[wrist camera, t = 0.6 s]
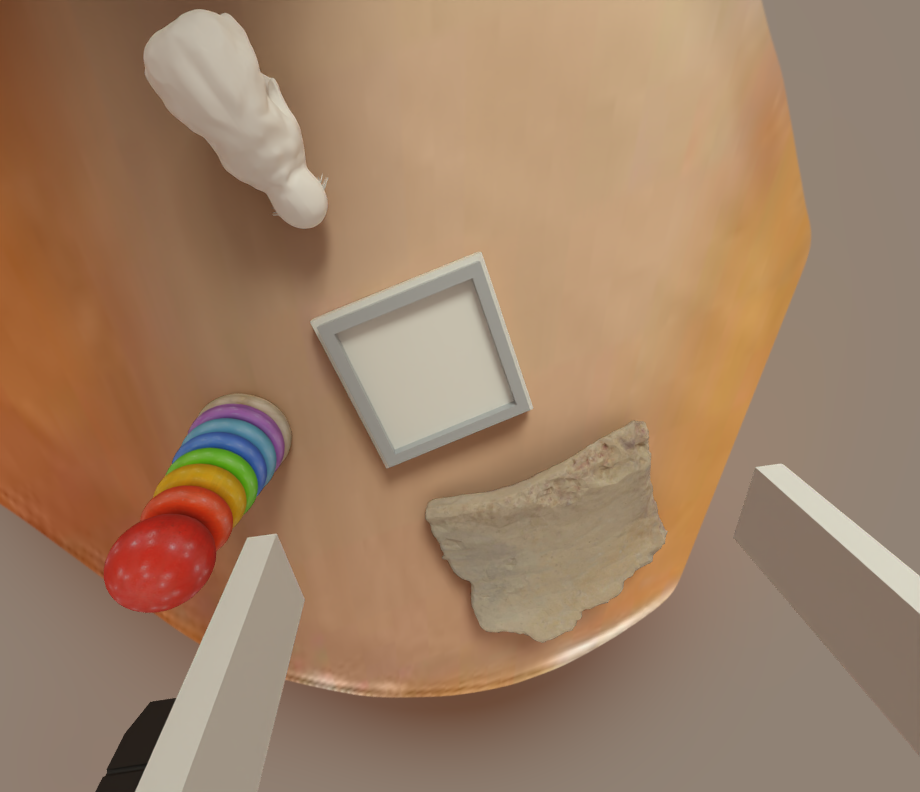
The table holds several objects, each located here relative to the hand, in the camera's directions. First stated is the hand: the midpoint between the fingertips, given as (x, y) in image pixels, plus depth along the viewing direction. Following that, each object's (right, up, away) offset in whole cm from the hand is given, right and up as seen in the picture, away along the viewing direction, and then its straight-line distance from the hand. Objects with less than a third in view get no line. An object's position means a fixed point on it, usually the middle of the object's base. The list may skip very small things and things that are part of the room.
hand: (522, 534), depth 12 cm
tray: (-5, +7, +27) cm, 28 cm away
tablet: (+8, -10, +36) cm, 38 cm away
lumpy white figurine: (-16, +22, +20) cm, 33 cm away
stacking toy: (-21, +1, +27) cm, 34 cm away
